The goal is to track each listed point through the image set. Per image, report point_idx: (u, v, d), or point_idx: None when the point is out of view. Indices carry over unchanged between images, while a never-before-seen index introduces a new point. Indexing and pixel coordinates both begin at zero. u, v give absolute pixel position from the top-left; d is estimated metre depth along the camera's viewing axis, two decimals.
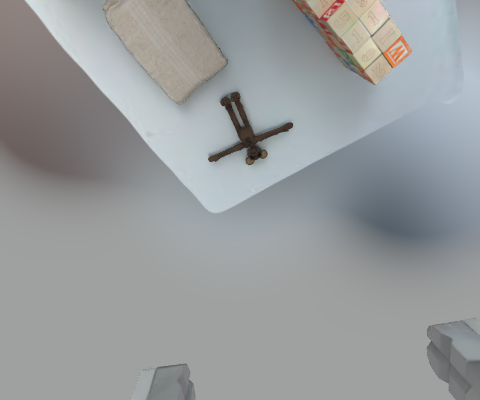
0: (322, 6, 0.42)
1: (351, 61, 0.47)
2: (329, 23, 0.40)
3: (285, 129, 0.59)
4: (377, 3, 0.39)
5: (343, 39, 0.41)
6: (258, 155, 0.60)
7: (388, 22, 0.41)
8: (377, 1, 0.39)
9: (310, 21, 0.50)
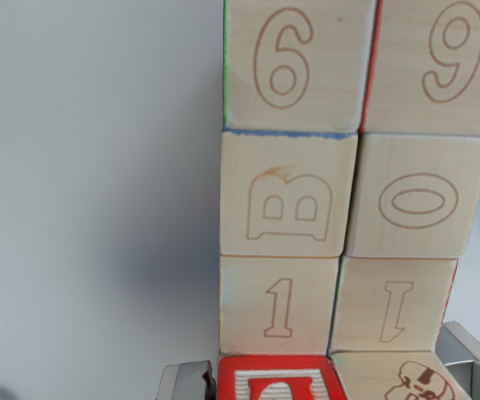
0: (264, 330, 0.08)
1: None
2: None
3: None
4: None
5: None
6: None
7: None
8: None
9: None
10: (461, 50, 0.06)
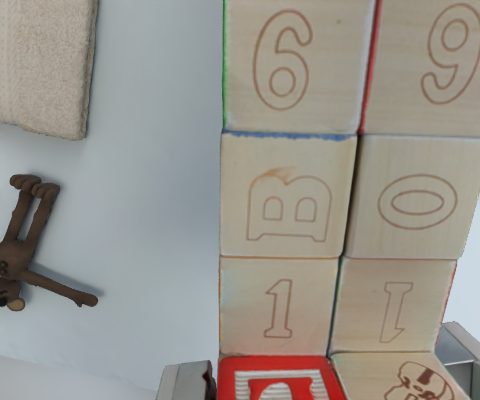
0: (264, 330, 0.08)
1: None
2: None
3: (78, 301, 0.31)
4: None
5: None
6: None
7: None
8: None
9: None
10: (459, 51, 0.06)
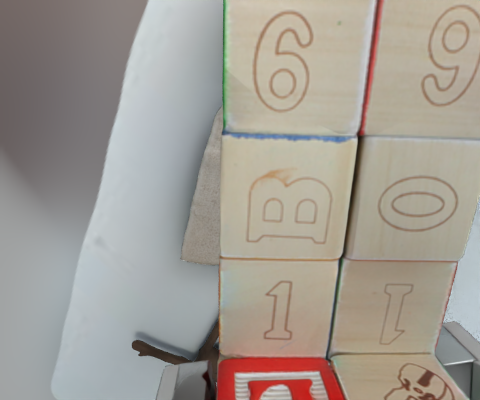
0: (264, 332, 0.08)
1: None
2: None
3: None
4: None
5: None
6: None
7: None
8: None
9: None
10: (460, 53, 0.06)
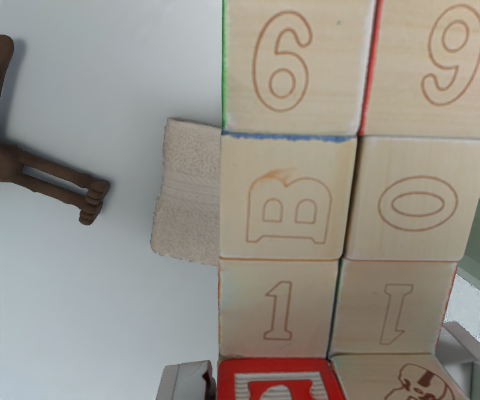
0: (263, 332, 0.08)
1: None
2: None
3: None
4: None
5: None
6: None
7: None
8: None
9: None
10: (460, 53, 0.06)
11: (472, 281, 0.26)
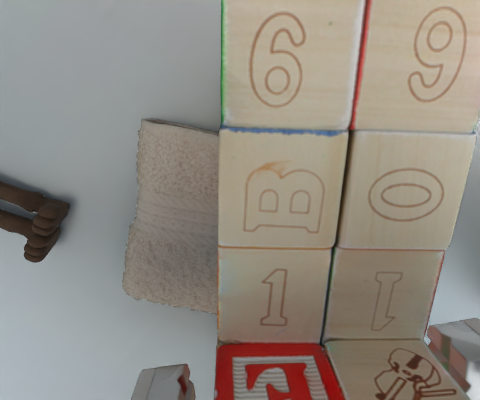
0: (260, 318, 0.09)
1: None
2: None
3: None
4: None
5: None
6: None
7: None
8: None
9: None
10: (444, 52, 0.07)
11: None
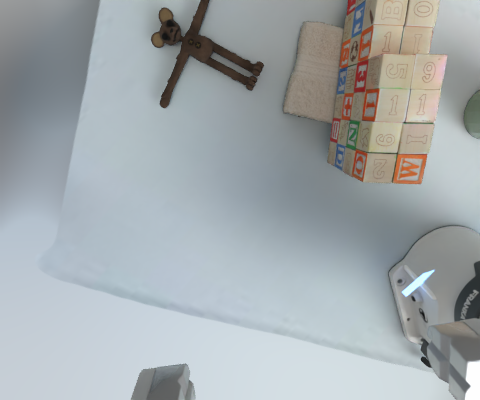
0: (382, 49, 0.31)
1: (354, 141, 0.34)
2: (383, 59, 0.28)
3: (165, 95, 0.41)
4: (437, 94, 0.29)
5: (380, 93, 0.29)
6: (166, 34, 0.38)
7: (429, 126, 0.30)
8: (438, 92, 0.29)
9: (338, 83, 0.40)
10: None
11: None
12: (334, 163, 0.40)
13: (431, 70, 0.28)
